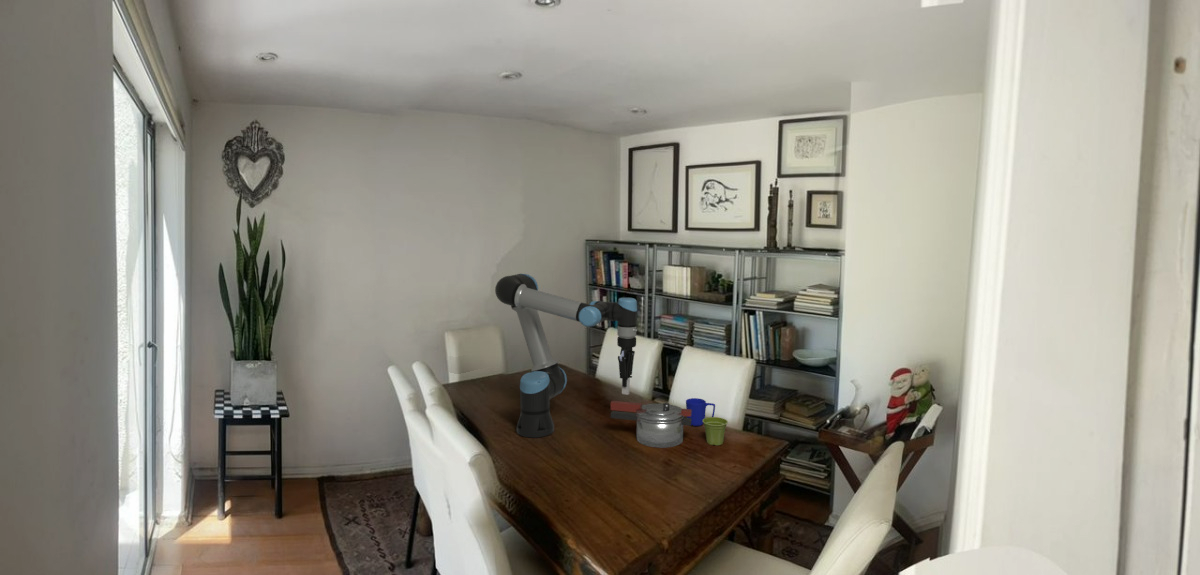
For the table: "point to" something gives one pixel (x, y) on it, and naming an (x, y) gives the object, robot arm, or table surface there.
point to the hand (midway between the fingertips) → (625, 393)
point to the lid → (652, 410)
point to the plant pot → (715, 430)
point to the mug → (698, 410)
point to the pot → (656, 430)
